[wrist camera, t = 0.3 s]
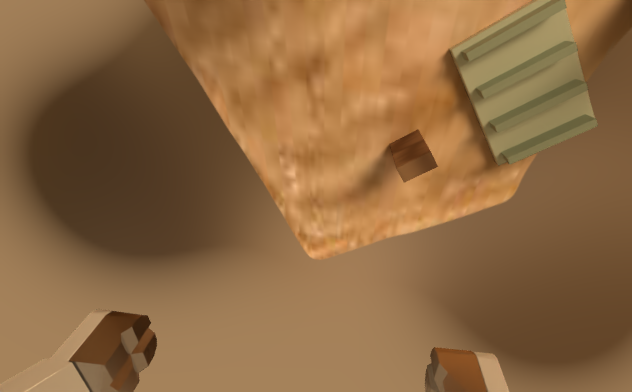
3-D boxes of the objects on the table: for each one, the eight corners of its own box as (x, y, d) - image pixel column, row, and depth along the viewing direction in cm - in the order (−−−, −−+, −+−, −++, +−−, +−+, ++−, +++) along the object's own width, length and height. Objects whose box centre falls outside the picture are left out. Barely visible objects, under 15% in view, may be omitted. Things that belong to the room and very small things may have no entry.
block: (396, 156, 57) (404, 182, 48) (389, 144, 56) (396, 168, 47) (424, 142, 55) (437, 166, 46) (418, 129, 54) (430, 151, 45)
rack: (495, 162, 55) (504, 171, 52) (448, 48, 48) (456, 51, 45) (589, 119, 51) (607, 127, 47) (553, -12, 44) (571, -15, 40)
